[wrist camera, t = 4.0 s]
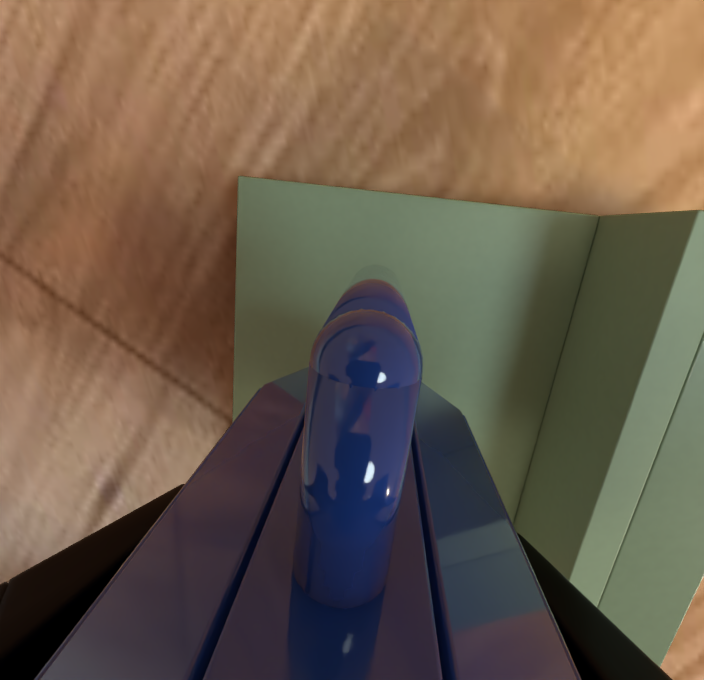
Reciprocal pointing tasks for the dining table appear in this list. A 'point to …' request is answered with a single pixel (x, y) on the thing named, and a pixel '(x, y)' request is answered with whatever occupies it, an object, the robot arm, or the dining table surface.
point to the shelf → (521, 363)
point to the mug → (330, 537)
